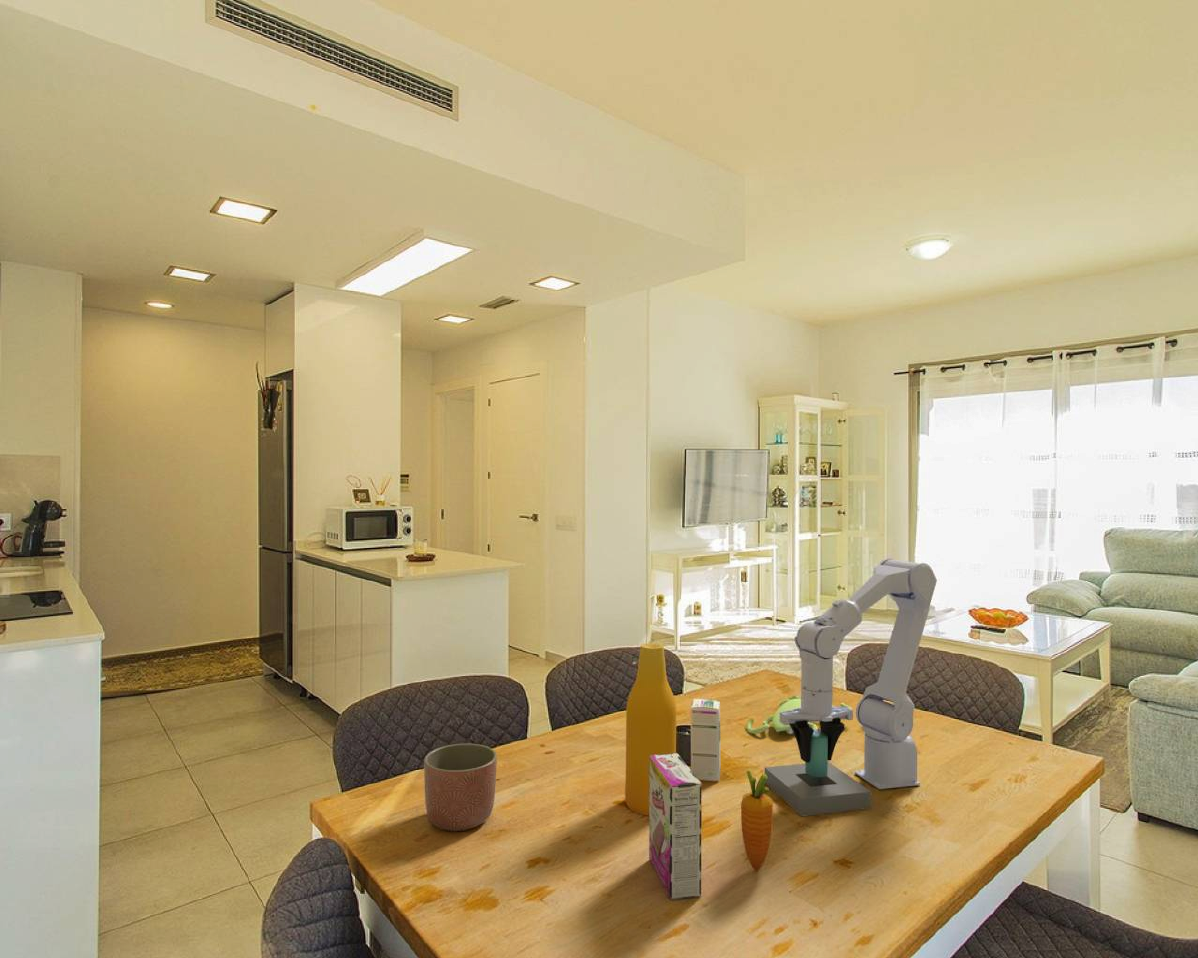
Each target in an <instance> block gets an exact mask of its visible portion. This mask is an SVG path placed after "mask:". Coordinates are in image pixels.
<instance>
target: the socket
mask: <svg viewBox="0 0 1198 958" xmlns="http://www.w3.org/2000/svg"><path fill="white" fill-rule="evenodd" d="M764 774H766V775H767V781H766V782H765V784H764V785H766V786H767V787H768V788H770V789H771V790H772V791H773V792H774V793H776V794H777V795H778V796H779V797H780V798H781V799H782V800H784V801H785V802H786V803H787V804H788V805H789V806H790V807H791V808H792V809H793V810H794V811H796V812H797V813H798V815H800V816H801V817H808V816H814V815H815V816H817V815H824V814H832V813H833V814H834V813H840V812H849V811H857V810H858V811H859V810H866V809H867V810H868V809H872V791H871V790H870V789H868V788H867V787H866V786H864V785H863V784H861V783H860V782H859V781H857V780H855V779H854V778H852V777H851V776H850V775H848V774H847V773H845V772H844V771H842V769H840V768H838V767H837V766H836V765H834V764H832V763H831V762H830V761H828V767H827V776H825V777H814V776H811V775H808V774H807V773H806V772H805V763H797V764H786V765H778V766H767V767H766V766H765V767H764Z"/></svg>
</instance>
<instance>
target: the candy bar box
mask: <svg viewBox="0 0 1198 958" xmlns="http://www.w3.org/2000/svg"><path fill="white" fill-rule="evenodd" d="M702 787H703V784H702V782H701V780H698V779H697V777H696V776H695V775H694V774H693V772H692V771H691V767H689V766H688V765H687V763H686V762H685V761H684V760H683V759H682V757H681V756H680V755H679V753H677V752H676V753H674V754H661V755H657V754H656V755H651V756H649V804H650V808H649V810H650V811H649V817H648V818H649V823H648V825H649V827H648V829H649V833H648V835H649V845H648V846H649V847H648V849H649V850H648V851H649V852H648V853H649V855H648V859H649V861H650V863H651V864H652V867H653V868H654V870H655V872H656V874H657V876H658V877H659V879H660V882H661V883H662V885H663V887H664V890H665V891H666V893H667V895H668V898H669V899H670V901H675V900H682V899H683V900H685V899H690V898H698V897H700V898H701V897H702V793H703V792H702Z"/></svg>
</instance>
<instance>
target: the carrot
mask: <svg viewBox="0 0 1198 958" xmlns="http://www.w3.org/2000/svg"><path fill="white" fill-rule="evenodd" d="M745 772H746V773H745V774H747V775H746V776H747V779H748V782H749V785H750V790H751V792H747V793H744V794H743V795H742V800H741V804H740V809H741V811H740V815H741V816H740V820H741V822H740V823H741V835H742V841H743V846H744V851H745V854H746V857H747V859H748V861H749V863H750V866H751V867H752V869H753V870H754V871H756V872H758V871H759V870H760V869H761V868H762V867H763V865H764V863H765V861H766V858H767V855H768V853H769V847H770V844H771V836H772V830H773V819H774V818H773V816H774V815H773V814H774V803H773V802H774V801H773V799H772V798H771V797H770V796H768V795H766V793H768V791H769V790H770V789H769V788H770V787H768V786H766V787H765V786H764V785H766V784H765V782H766V781H767V775H766V774H765V773H762V774H761V776H760V778H759V779H758V782H756V781H757V778H756V777H755V776H753V774H752V772H751V770H747V771H745Z"/></svg>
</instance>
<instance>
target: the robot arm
mask: <svg viewBox="0 0 1198 958" xmlns="http://www.w3.org/2000/svg"><path fill="white" fill-rule="evenodd" d="M937 581H938V580H937V578H936V576H935V573H934V570H933V568H932V567H931V566H930V565H929V564H928V563H925V562H914V561H907V560H906V561H905V560H897V559H893V558H884V559H883V560H882V561H880V562H879V564H877V565H876V566H874V569H873V574H872V576H870V578H868V579H867V581H865V583H863V585H862V586H861V587H860V588H859V589H858V590H857V591H856V592H855V593H854V594H852V596H851V597H849V599H839V600H835V601H833V602H832V606H830V607H829V608H828V609H827V610H826V611H825V612H823V613H822V614H821V615H818V617H817V618H815V620H814V621H813V622H806V623H804V624H803V625H801V626H800V627H799V629H798V630H797V632H796V636H794V643H795V646H796V648H797V649H798V652H799V655H798V656H799V658H800V663H801V664H800V669H801V671H800V672H801V673H800V678H801V679H800V681H801V682H800V699H801V707H800V708H796V709H792V710H788V711H783V712H780V714H779V722H780V723H782V724H783V725H790V727H791V729H792V731H793V733H792V734H793V736H794V737H795V740H796V743H797V746H798V747H797V748H798V751H799V756H800V759H801V760H802V761H803V762H806V763H808V762H810V754H811V740H812V735H813V732H814V730H813V729H812V728H810V727H809V724H808V722H810V723H815V722H819V729H820V730H821V733H823V734H826V735H827V736H828V762H830V761H832V760H833V759H832V757H833V755H834V751H835V747H836V745H837V744H838V743H837V742H838V740H839V738H840V737H841V735H842V734H843V732H844V731H845V723H843V722H841V720H846V721H854V710H853V708H852V709H850V708H848V707H841V706H834V707H832V704H833V697H834V696H833V694H834V693H833V692H834V690H833V687H834V686H833V682H834V681H833V678H834V676H833V675H834V671H833V670H834V656H836V655H838V653H839V651H840V649H841V646H842V643H843V642H844V640H845V637H847V636H848V635H849V634H850V633H851V632H852V631H853V630H855V628H857V627H858V626H859V625H860V624H861V623H862V621H863V613H864V612H866V611H867V610H869V609H870V608H871V607H873V606H874V605H875V604H877V603H878V602H879V601H880V600H882V599H883V598H885V597H886V596H887V595H888V596H889V598H890V599H892V601H894V602H895V604H896V606H897V607H898V611H897V614H896V618H895V621H894V625H893V629H892V632H891V634H890V637H889V642H888V645H887V649H886V652H885V656H884V659H883V662H882V665H881V669H880V672H879V676H878V680H877V682H875V683H873V684H871V685H869V686H867V687H866V688H865V691H864V693H863V695H862V697H861V698H860V700H859V701H858V703H857V705H856V708H855V718H856V720H857V722H858V723H859V724H860V726H861V730H862V731H863V732H864V746H863V747H864V748H863V749H864V750H863V751H864V753H863V754H864V756H863V757H864V759H863V761H864V763H863V765H864V766H863V767H864V768H863V769H857V770H854V773H855V774H856V775H857V776H858V777H860V778H861V779H862V780H864V781H866V782H867V783H869V785H872V786H873V787H874V788H876V789H878V790H886V789H887V790H888V789H894V788H895V789H896V788H906V787H914V786H920V785H921V782H920V781H918V748H917V745H916V743H915V739H913V737H912V736H911V734H912V732H913V729H914V712H915V708H916V706H915V704H914V702H913V701H912V699H911V698H910V697H909V695H908V693H907V690H908V686H909V682H910V679H911V675H912V671H913V668H914V665H915V661H916V658H917V654H918V652H919V651H918V650H919V647H920V644H921V640H922V637H923V632H924V630H925V626H926V622H927V620H928V615H929V613H930V607H931V602H932V599H933V595H934V593H935V588H936V585H937ZM886 700H887V701H886ZM888 701H890V702H892V703H890V702H888Z"/></svg>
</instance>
